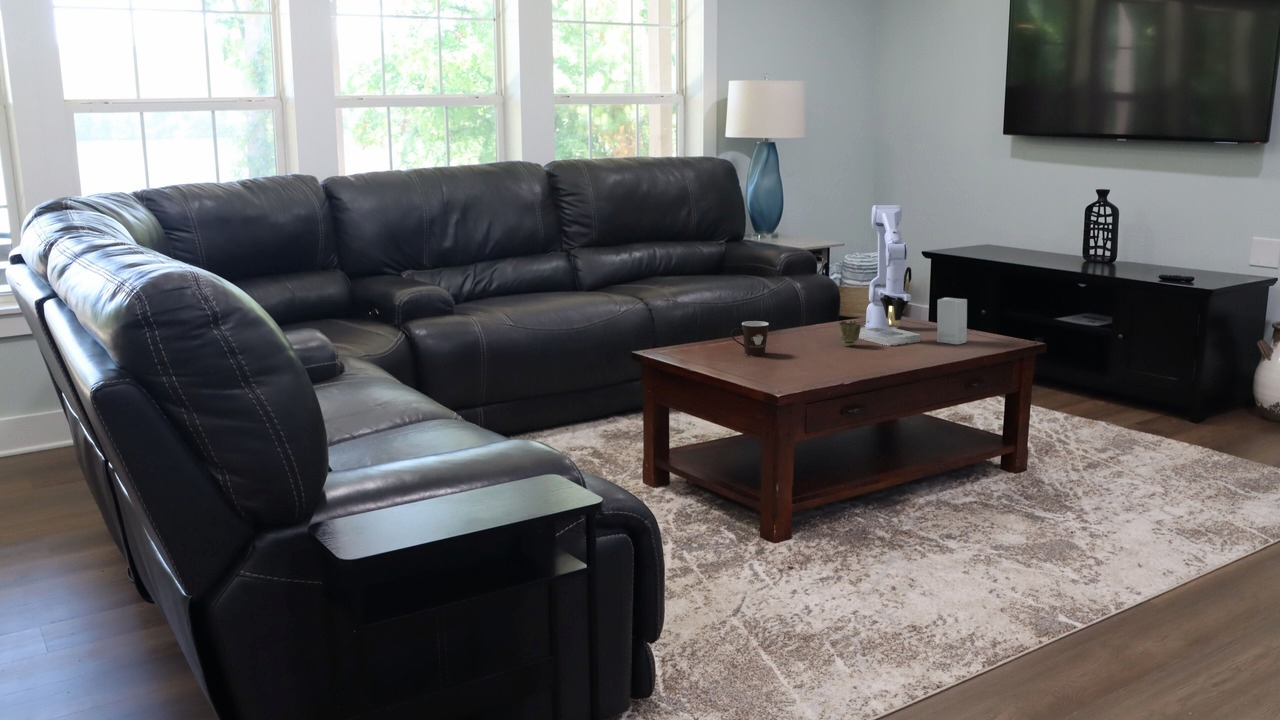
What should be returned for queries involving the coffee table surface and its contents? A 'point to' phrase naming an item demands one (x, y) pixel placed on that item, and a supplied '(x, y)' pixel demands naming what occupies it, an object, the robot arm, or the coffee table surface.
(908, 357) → the coffee table surface
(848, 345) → the cup
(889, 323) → the brass sleeve
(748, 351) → the coffee mug
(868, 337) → the jig plate
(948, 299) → the skincare box
